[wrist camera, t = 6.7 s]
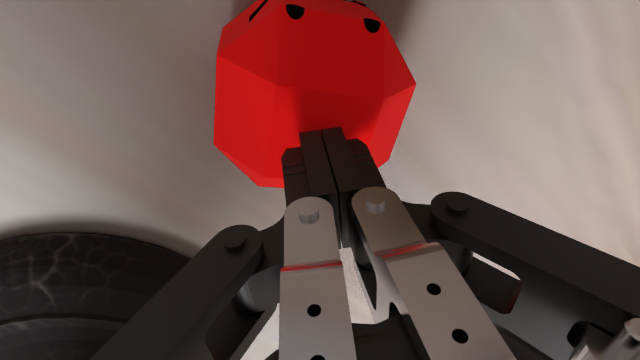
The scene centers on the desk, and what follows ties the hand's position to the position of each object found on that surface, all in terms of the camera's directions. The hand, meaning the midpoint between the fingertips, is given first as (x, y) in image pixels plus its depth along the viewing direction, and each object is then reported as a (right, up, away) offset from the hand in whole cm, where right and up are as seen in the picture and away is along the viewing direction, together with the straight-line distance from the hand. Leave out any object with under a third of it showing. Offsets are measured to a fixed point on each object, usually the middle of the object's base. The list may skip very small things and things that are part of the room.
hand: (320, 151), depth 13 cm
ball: (-1, +5, +7) cm, 9 cm away
